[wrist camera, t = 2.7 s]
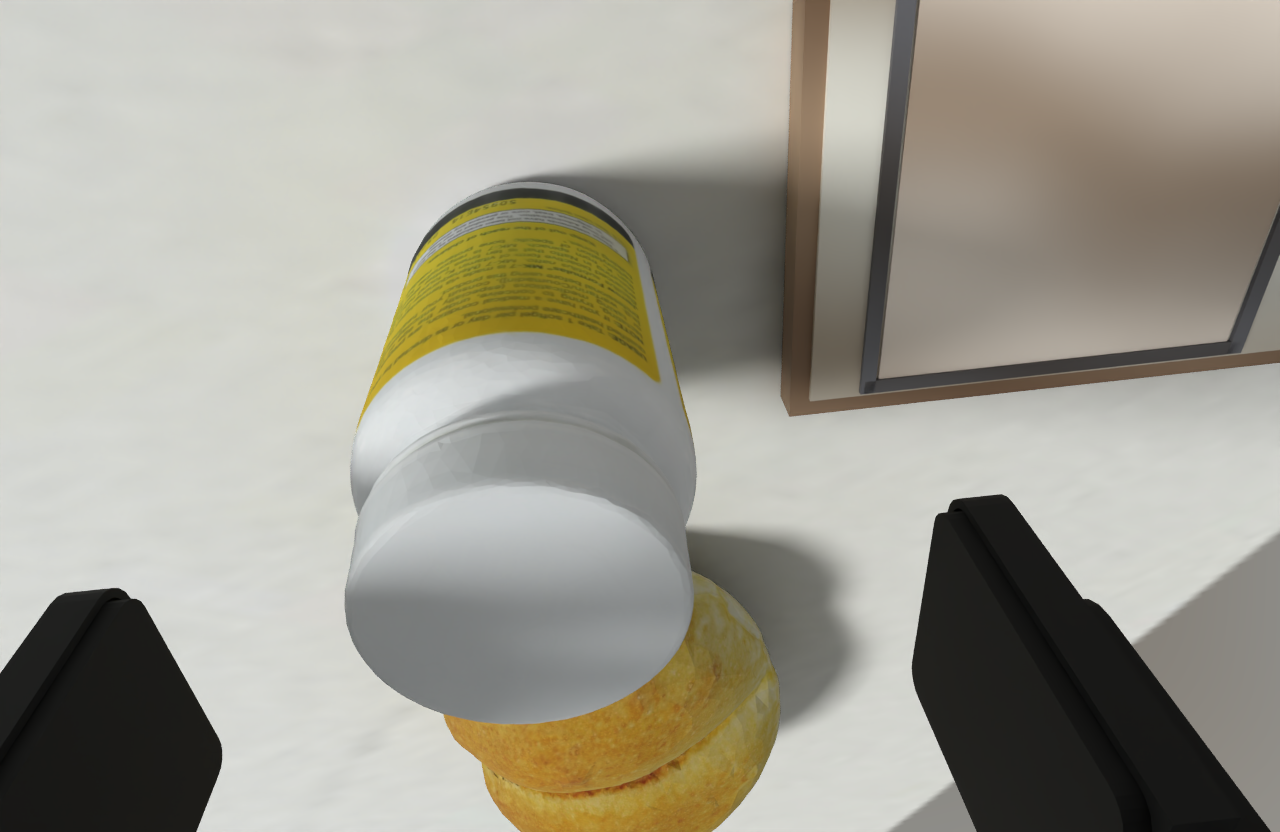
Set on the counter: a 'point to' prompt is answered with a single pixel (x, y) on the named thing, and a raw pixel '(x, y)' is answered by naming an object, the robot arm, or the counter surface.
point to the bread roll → (646, 739)
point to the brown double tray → (1027, 196)
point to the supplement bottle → (523, 468)
